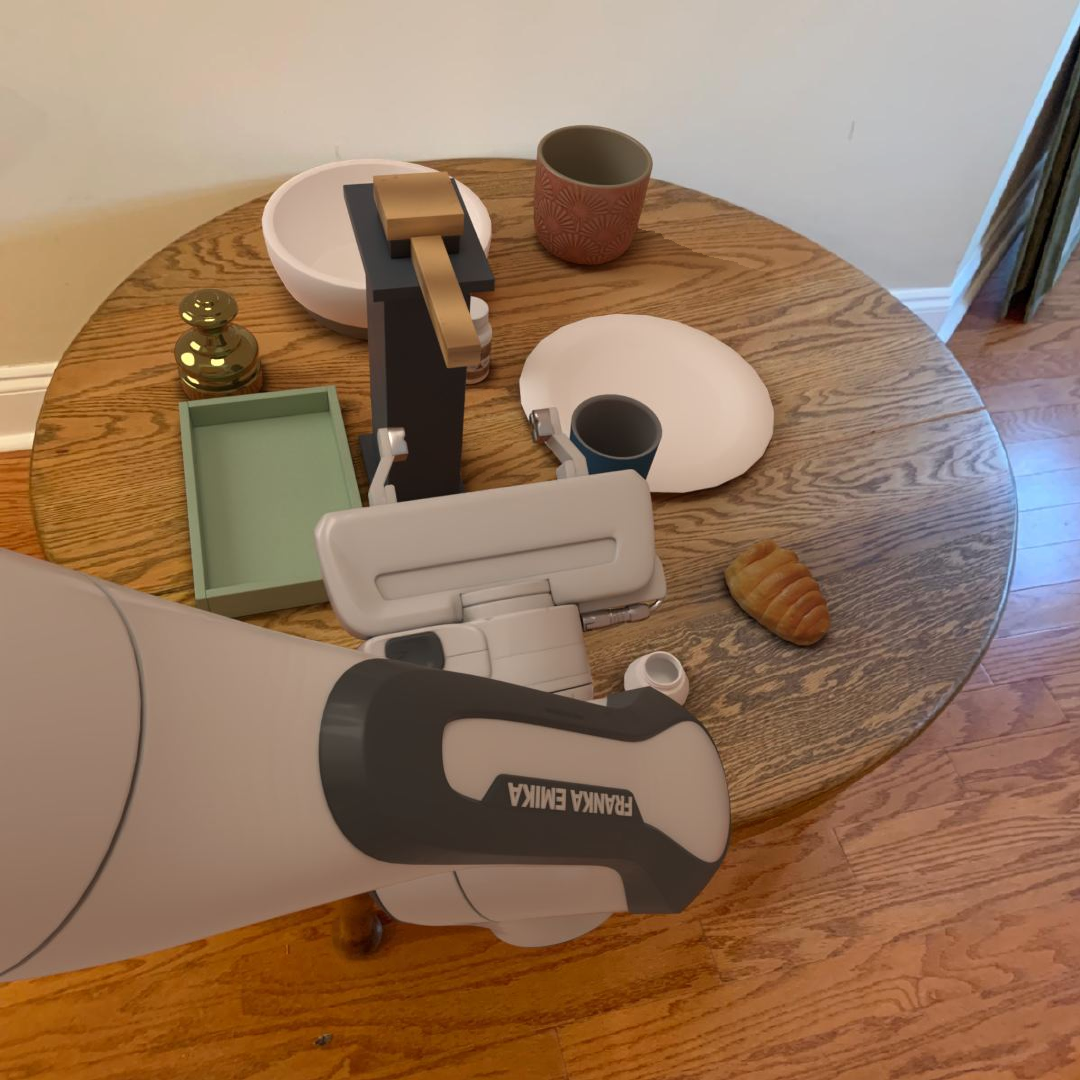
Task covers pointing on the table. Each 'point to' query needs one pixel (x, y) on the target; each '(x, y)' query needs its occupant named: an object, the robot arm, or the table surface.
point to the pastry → (779, 593)
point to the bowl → (335, 239)
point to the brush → (430, 252)
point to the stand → (412, 357)
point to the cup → (616, 434)
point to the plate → (659, 393)
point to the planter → (589, 192)
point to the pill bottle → (484, 332)
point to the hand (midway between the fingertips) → (467, 419)
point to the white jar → (658, 675)
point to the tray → (263, 495)
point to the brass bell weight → (216, 348)
